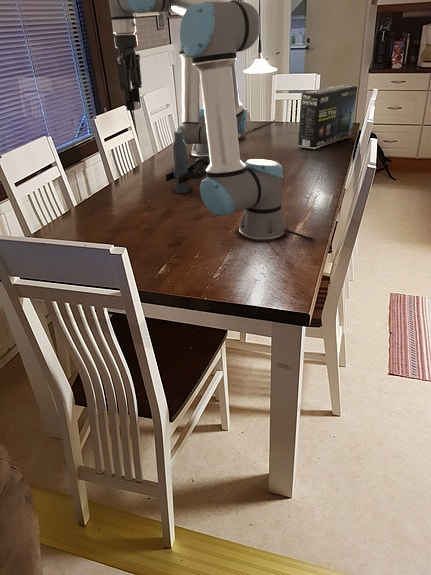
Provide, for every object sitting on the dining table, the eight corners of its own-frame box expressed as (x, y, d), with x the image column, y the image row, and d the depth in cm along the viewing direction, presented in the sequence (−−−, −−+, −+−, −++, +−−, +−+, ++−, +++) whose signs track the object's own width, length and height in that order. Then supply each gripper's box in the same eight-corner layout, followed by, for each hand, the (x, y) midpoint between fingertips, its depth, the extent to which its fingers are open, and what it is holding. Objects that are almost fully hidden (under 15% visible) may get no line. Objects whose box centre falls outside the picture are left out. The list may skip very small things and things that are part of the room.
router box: (314, 151, 231) (318, 94, 217) (296, 148, 237) (299, 92, 224) (352, 138, 251) (358, 85, 238) (335, 135, 258) (340, 83, 245)
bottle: (187, 193, 185) (183, 133, 173) (174, 193, 185) (168, 133, 173) (190, 188, 190) (186, 130, 178) (176, 188, 190) (172, 130, 178)
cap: (129, 107, 166) (128, 101, 164) (141, 107, 165) (140, 101, 164) (126, 110, 162) (125, 103, 161) (138, 109, 161) (137, 103, 160)
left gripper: (225, 175, 194) (192, 192, 178) (190, 169, 203) (155, 184, 187) (225, 158, 190) (191, 173, 174) (189, 152, 200) (154, 166, 183)
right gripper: (122, 35, 143) (132, 114, 155) (146, 32, 157) (153, 105, 169) (101, 36, 146) (112, 113, 158) (127, 33, 159) (135, 104, 172)
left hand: (173, 179), depth 181 cm, fingers closed on bottle, 6 cm apart
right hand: (134, 108), depth 163 cm, fingers closed on cap, 4 cm apart
